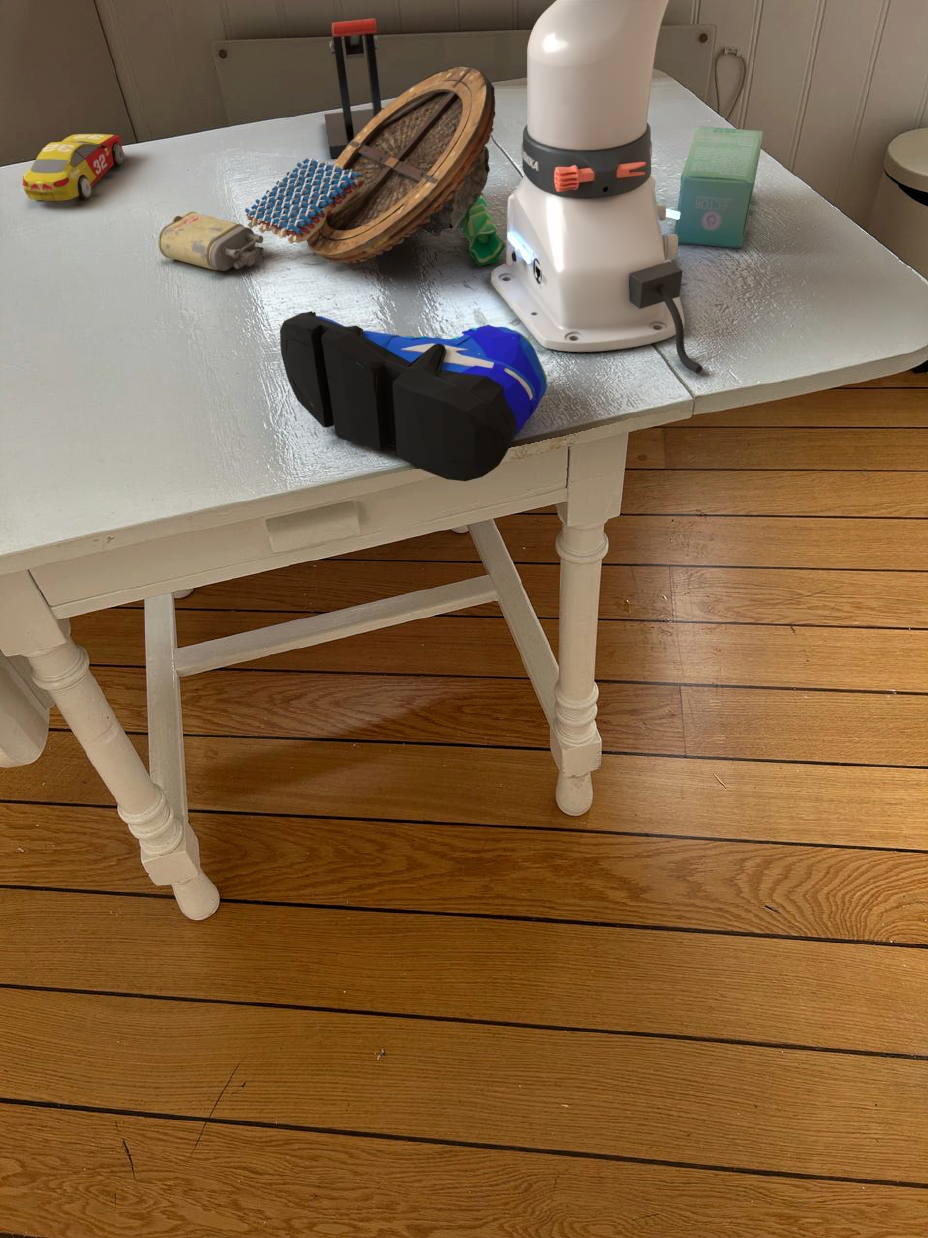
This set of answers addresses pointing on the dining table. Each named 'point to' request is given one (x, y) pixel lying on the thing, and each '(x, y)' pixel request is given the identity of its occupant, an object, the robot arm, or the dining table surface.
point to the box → (718, 187)
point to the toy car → (72, 167)
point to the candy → (482, 234)
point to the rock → (460, 199)
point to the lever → (354, 35)
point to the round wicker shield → (409, 163)
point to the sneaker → (417, 390)
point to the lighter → (209, 242)
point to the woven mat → (304, 200)
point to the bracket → (349, 122)
